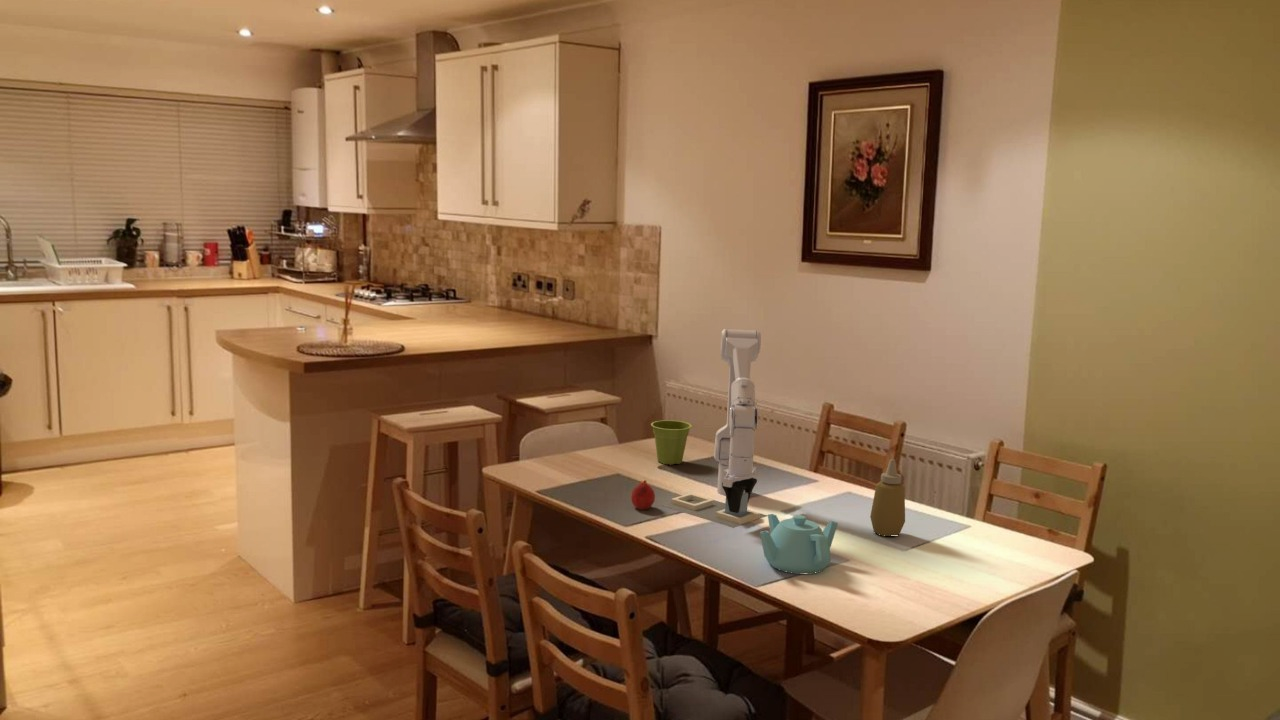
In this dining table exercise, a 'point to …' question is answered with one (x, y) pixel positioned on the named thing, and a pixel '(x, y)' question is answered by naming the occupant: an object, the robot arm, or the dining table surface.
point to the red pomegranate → (643, 496)
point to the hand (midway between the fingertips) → (738, 509)
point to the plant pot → (670, 440)
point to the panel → (710, 510)
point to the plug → (742, 508)
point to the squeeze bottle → (889, 503)
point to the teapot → (797, 544)
